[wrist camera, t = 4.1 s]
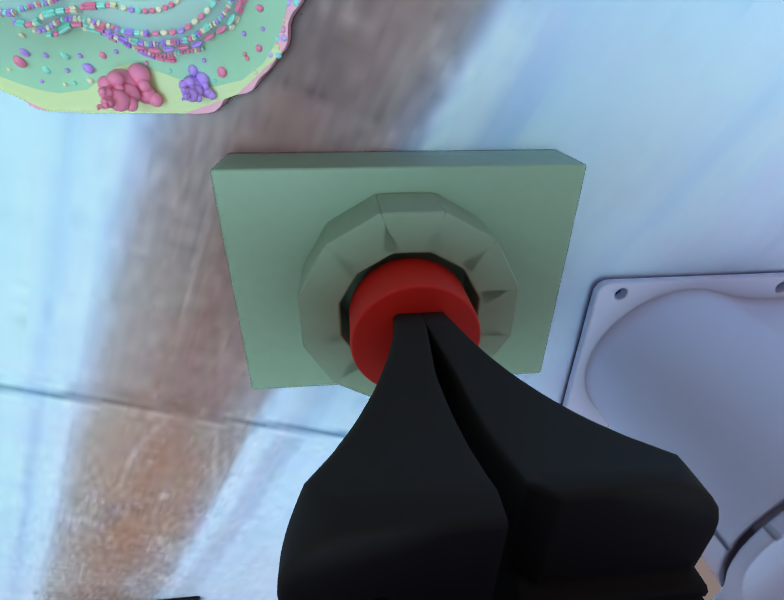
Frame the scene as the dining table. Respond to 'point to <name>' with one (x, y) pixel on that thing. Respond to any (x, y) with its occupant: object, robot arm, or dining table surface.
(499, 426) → the robot arm
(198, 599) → the switch bracket
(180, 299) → the dining table surface
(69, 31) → the candy landscape model
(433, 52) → the dining table surface
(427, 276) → the warm button
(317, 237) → the control block
